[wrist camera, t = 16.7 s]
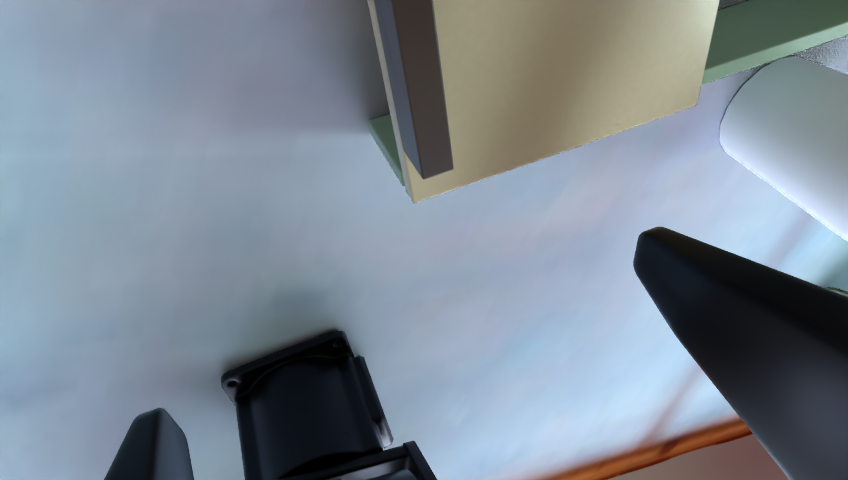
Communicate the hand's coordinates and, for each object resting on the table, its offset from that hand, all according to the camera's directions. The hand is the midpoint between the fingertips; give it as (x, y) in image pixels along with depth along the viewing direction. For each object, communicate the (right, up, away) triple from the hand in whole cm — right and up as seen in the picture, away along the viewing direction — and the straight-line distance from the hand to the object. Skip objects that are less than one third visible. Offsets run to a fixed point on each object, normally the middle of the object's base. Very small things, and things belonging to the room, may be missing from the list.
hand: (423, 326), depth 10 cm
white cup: (+18, +9, +20) cm, 29 cm away
